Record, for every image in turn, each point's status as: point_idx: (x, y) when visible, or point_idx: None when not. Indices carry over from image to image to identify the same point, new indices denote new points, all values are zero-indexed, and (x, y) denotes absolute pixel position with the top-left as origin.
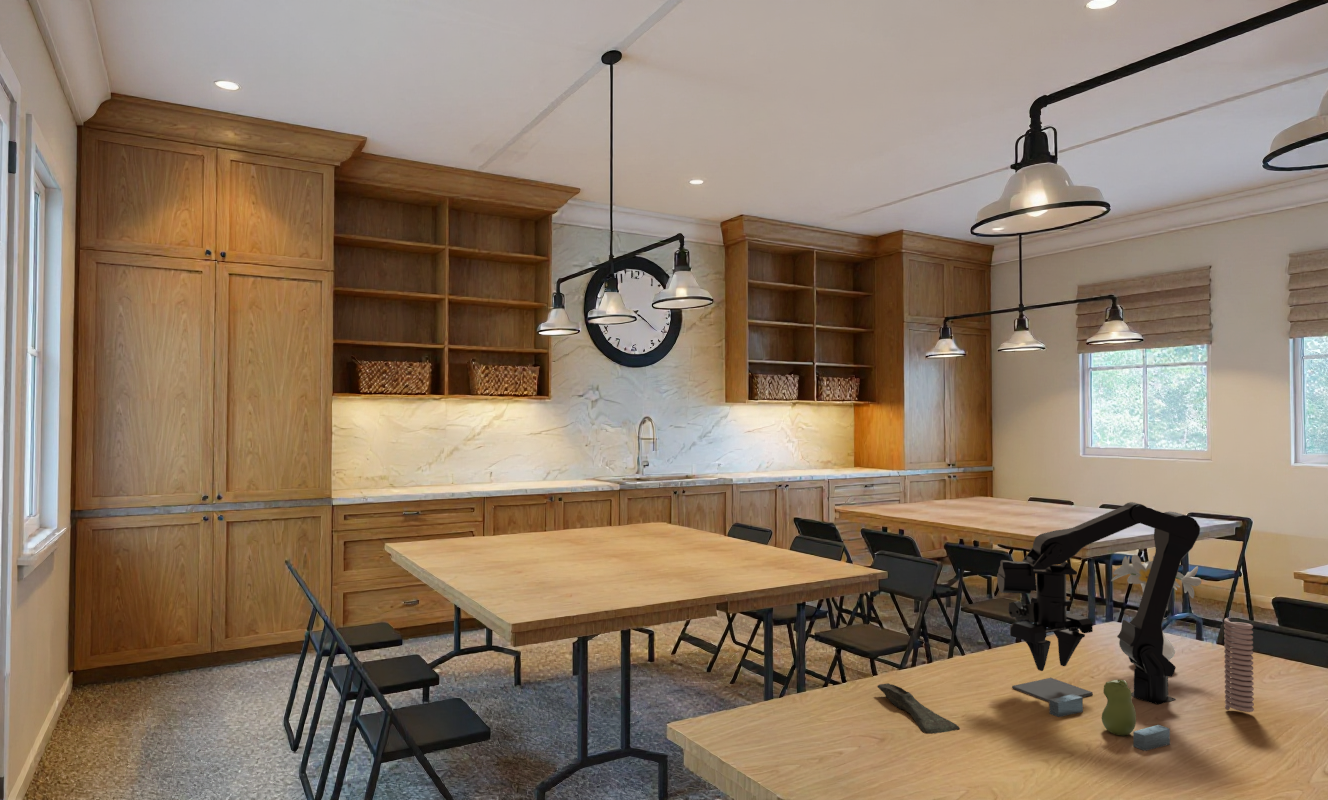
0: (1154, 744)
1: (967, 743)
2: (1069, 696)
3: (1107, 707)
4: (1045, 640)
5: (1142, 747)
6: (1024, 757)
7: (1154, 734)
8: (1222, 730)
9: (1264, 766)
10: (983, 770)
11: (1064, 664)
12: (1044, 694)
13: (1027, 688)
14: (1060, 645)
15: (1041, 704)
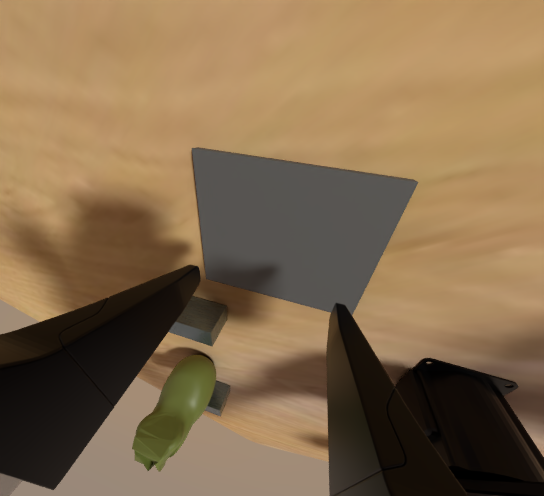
0: None
1: (3, 254)
2: (191, 330)
3: (160, 395)
4: (25, 477)
5: None
6: (61, 307)
7: None
8: None
9: (263, 432)
10: (12, 292)
11: (329, 324)
12: (224, 249)
13: (218, 196)
14: (356, 420)
15: (187, 259)
